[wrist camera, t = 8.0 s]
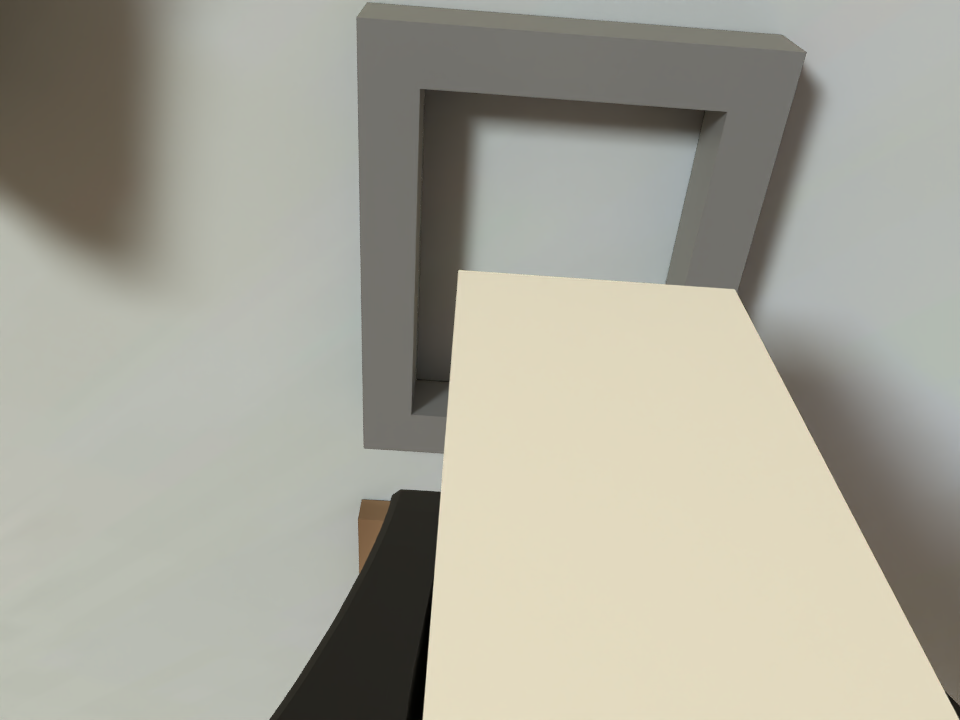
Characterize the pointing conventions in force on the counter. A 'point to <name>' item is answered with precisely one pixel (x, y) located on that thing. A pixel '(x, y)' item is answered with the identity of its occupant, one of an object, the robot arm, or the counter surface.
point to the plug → (647, 523)
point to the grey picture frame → (556, 75)
